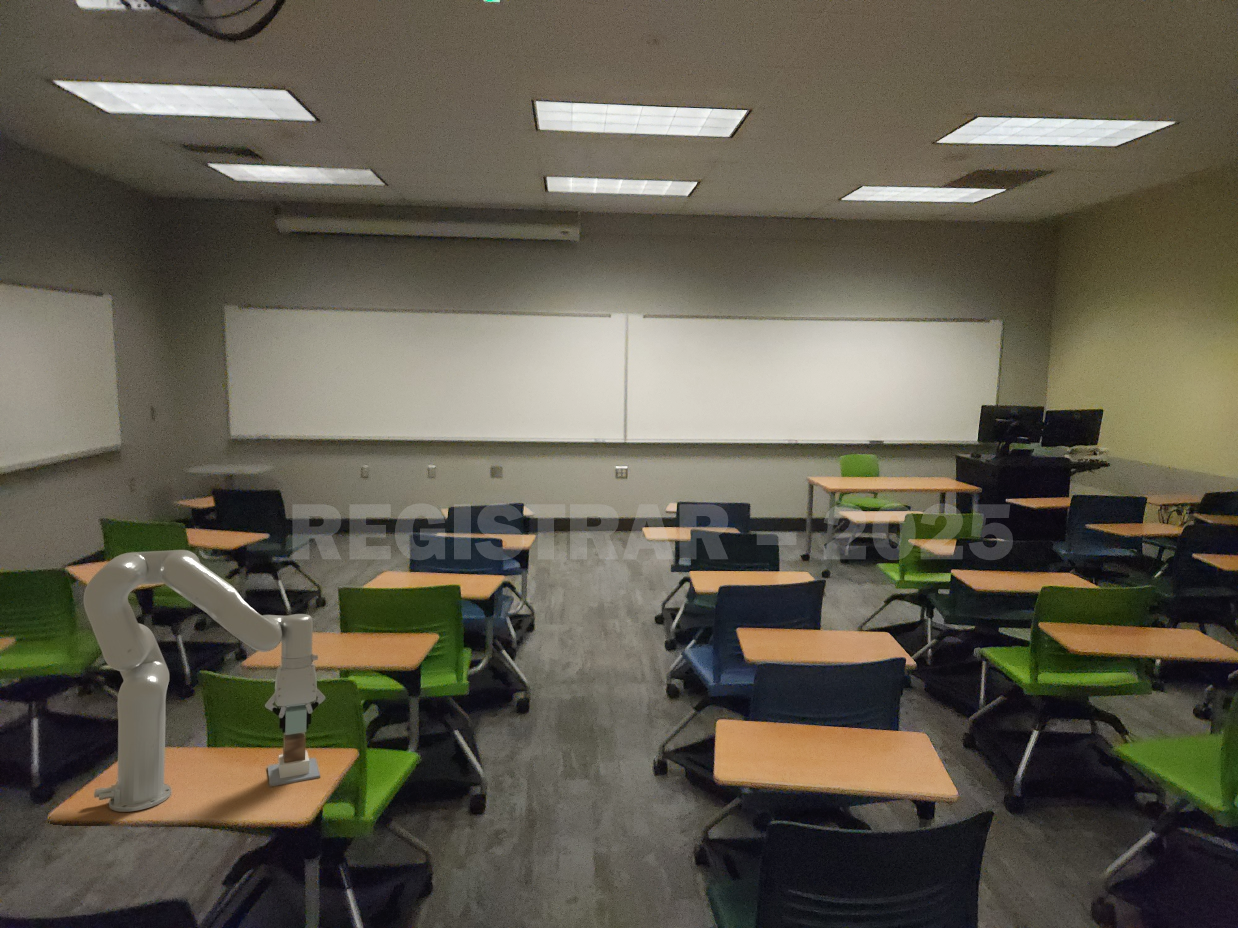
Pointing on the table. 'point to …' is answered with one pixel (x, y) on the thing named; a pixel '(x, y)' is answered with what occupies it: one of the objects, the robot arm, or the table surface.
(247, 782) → the table surface
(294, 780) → the plinth
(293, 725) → the teal block
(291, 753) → the walnut block
